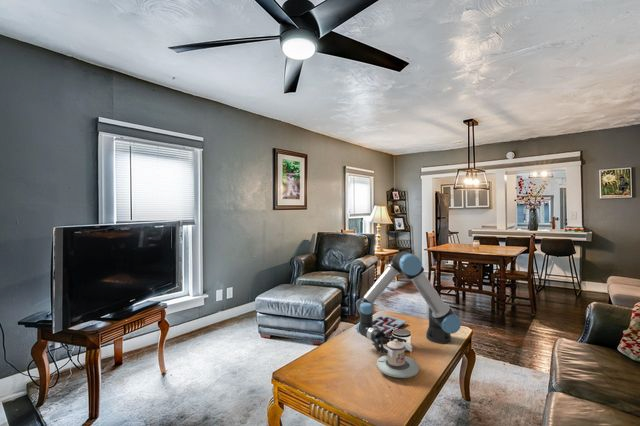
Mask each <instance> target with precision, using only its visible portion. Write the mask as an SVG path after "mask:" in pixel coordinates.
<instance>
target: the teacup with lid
mask: <svg viewBox="0 0 640 426" xmlns="http://www.w3.org/2000/svg"><path fill="white" fill-rule="evenodd" d="M386 347H387V348H389V349H390V350H392V351H393V357H391V356H390V355H388V354H386V355H387V361H388V363H389V364H391V365H394V366H402V365H403V364H404V363H405V356H406V355H405V354H406V352H405V350H406V349H405V345H404V344H403V343H402V342H399V341H398V340H397V339H394V341H390V342H388V343H387V344H386Z"/></svg>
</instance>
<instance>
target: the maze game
mask: <svg viewBox="0 0 640 426" xmlns="http://www.w3.org/2000/svg"><path fill="white" fill-rule="evenodd" d="M406 323H407V320H404V319H400V318H397V317H393V316H389V315H386V314H382V315H380V316H378V317H375V318H373V327H375V328H377V329H379V330H380V331H382V332H384V334H385V335H386V336H388V335H389V334H391V333H392V332H393V331H392V330H393V329H395V328H399V329H400V327H401V326H402V325H404V324H406ZM355 330H357V326H356V327H355ZM391 331H392V332H391Z"/></svg>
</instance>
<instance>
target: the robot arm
mask: <svg viewBox="0 0 640 426" xmlns="http://www.w3.org/2000/svg"><path fill="white" fill-rule="evenodd" d="M401 273H402V274H403V275H404V277H405V278H406V279H407V280H409V281H411V283H413V285H414V286H415V288H416V289H417V290H418V292H419V294H420V295H421V297H422V298H423V299H424V301H425V303H426V304H427V305H428V327H427V330H426V333H425V338H426V339H427V340H428V341H430V342H433V343H437V344H448V343H450V342H451V341H452V336H451V334H452V335H453V334H455V333H457V332H458V331H459V330H461V326H462V320H461V318H460V317H459V316H458V315H457V314H456V313H455V312H454V310H453V309H452V308H451V306H450V305H449V304H448V303H447V302H444V301H443V299H442V297H441V296H440V294H439V293H438V292H437V290H436V289H435V287H434V285H433V284H432V283H431V281H430V279H428V277H427V275H426V274H425V268H424V267H423V264H422V260H421V259H420V258H419V257H418V256H417V255H416V254H413V253H410V252H408V251H399V252H398V253H396V254H395V255H394V256H393V257H392V259H391V260H390V261H389V262H388V264H387V267H386V269H385V270H384V271H383V272H382V273H381V275H380V276H379V277H378V278H377V280H376V281H375V282H374V283H373V284H372V286H370V288H369V289H368V290H367V292H366V293H365V294H364V296H362V298H359V299H358V300H356V302H355V306H356V309H357V311H358V314H359V322H357V325H356V327H357V329H356V331H357V333H359V334H360V335H361V336H362V337H365V338H366V339H368V340H369V341H371V345H373V346H374V348H375V350H376V352H378V353H381V354H384V353H385V355H387V354H388V355H390V356H391V357H393V351H392V350H390V349H389V348H387V346H384V345H387V343H388V342H390V341H394V339H397V340H398V341H399V342H402V343H403V344H404V345H405V350H407V351H409V352H413V345H411V344H409V343H408V342H407V339H405V338H402V337H399V336H394V335H393V334H390V335H389V336H388V335H385V334H384V332H382V331H380V330H379V329H377V328H375V327H373V319H374V318H373V317H374V316H373V313H374V309H373V305H374V304H375V302H376V301H377V299H378V298H379V297H380V296H381V295H382V294H383V293H384V291H385V290H386V289H387V288H388V287H389V285H390V284H391V283H392V282H393V281H394V280H395V278H396V277H397V276H398V275H401Z"/></svg>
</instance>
